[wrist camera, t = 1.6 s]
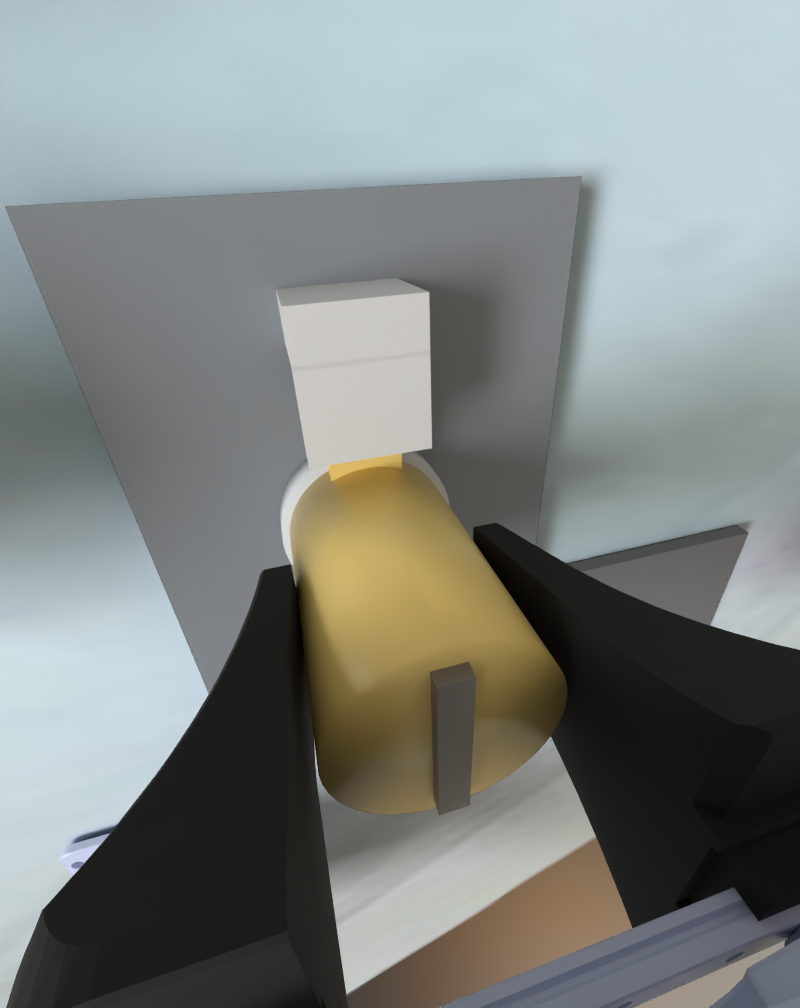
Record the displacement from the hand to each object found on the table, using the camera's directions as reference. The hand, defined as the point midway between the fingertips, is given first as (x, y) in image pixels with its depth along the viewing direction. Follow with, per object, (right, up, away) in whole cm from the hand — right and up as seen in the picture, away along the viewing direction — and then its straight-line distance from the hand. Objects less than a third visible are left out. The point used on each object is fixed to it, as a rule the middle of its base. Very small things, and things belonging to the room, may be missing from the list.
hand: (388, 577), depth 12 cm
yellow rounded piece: (-1, +1, +2) cm, 2 cm away
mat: (+11, -4, +11) cm, 16 cm away
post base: (-1, +2, +3) cm, 4 cm away
